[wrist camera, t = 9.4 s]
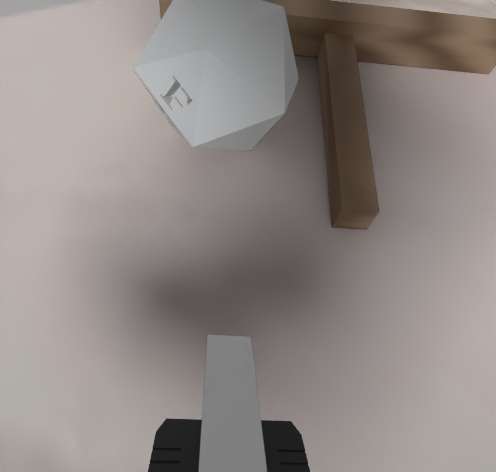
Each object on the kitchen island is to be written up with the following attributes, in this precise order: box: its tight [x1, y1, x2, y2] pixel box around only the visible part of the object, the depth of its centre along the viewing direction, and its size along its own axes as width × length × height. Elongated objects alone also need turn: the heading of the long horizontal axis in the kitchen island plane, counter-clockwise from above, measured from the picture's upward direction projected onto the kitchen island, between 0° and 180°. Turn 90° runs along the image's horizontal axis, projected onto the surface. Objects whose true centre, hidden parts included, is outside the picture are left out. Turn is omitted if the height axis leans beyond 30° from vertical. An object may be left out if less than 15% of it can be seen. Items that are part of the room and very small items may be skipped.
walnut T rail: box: [159, 0, 496, 229], centre depth 27 cm, size 24×16×3 cm, turn 89°
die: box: [132, 0, 299, 151], centre depth 24 cm, size 8×9×10 cm
